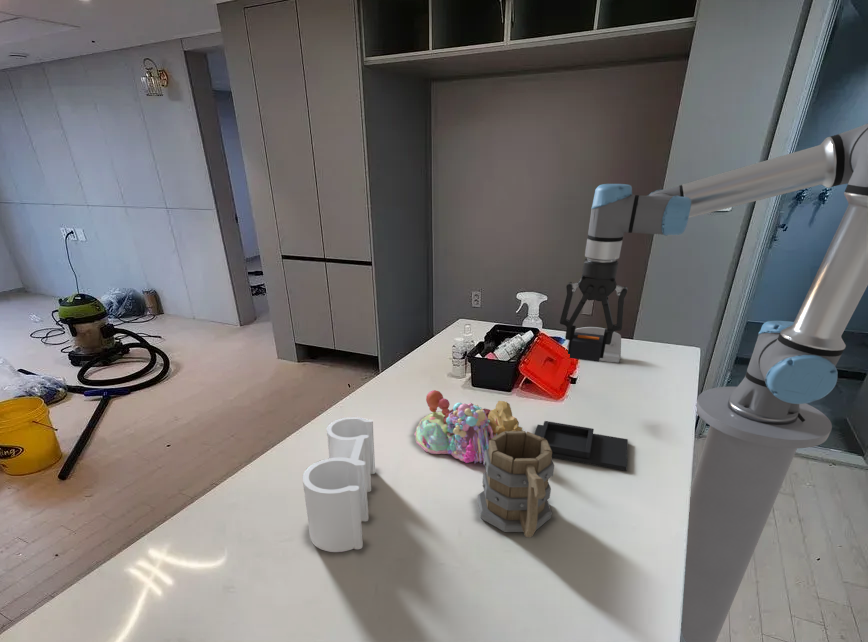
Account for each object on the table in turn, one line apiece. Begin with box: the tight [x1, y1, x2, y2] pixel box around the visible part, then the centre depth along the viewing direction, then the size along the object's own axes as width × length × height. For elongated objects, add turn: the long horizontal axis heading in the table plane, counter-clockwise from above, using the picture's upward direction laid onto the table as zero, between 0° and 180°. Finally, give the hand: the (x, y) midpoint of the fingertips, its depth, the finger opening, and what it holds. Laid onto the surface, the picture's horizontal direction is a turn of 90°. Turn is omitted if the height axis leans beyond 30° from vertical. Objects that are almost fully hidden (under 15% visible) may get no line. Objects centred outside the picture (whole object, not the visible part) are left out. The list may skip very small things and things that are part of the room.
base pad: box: [534, 420, 629, 472], centre depth 112 cm, size 20×12×2 cm, turn 69°
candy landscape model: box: [414, 389, 523, 466], centre depth 114 cm, size 25×24×9 cm
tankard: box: [477, 430, 555, 538], centre depth 87 cm, size 20×13×15 cm, turn 1°
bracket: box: [302, 416, 376, 553], centre depth 92 cm, size 25×10×12 cm, turn 177°
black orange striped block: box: [568, 332, 604, 363], centre depth 125 cm, size 7×7×5 cm
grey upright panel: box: [565, 326, 622, 364], centre depth 159 cm, size 17×5×10 cm, turn 70°
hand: (585, 354), depth 126 cm, fingers closed on black orange striped block, 7 cm apart
